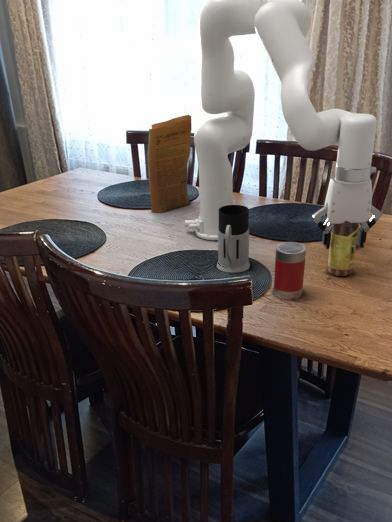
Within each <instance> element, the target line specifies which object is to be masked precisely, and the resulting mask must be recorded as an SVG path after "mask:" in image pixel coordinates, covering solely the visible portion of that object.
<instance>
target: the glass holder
mask: <svg viewBox="0 0 392 522" xmlns="http://www.w3.org/2000/svg"><path fill="white" fill-rule="evenodd" d="M249 219H250V209H249V207H248V206H245V205H242V204H233V205H226V206H223V207H221V208H219V226H218V240H217V259H218V260H217V263H216V268H217V269H218V270H219V271H221V272H223V273H229V274H236V273H242V272H246V271H247V270H249V269H250V267H251V264H250V261H249V254H250V253H249V252H250V226H249V223H250V220H249ZM218 263H219V264H220V265H221V266H220V265H219V264H218ZM222 266H224V267H227V268H224V267H222ZM230 268H233V269H230ZM235 268H237V269H235Z"/></svg>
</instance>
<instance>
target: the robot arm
mask: <svg viewBox="0 0 392 522" xmlns="http://www.w3.org/2000/svg"><path fill="white" fill-rule="evenodd" d="M311 25H312V17H311V12H310V10H309V8H308V6H307V5H306V4H305V3H304V2H303V1H301V0H208V1H207V2H206V3H205V4H204V6H203V7H202V9H201V11H200V14H199V18H198V23H197V28H198V29H197V33H198V42H199V57H200V58H199V59H200V60H199V61H200V63H199V100H200V105H201V108H202V110H203V111H204V112H205V113H206V114H209V115H220V114H224V116H220V117H216V118H211V119H209V120H206V121H203V122H202V123H200V124H199V125H198V127H197V128H196V129H195V131H194V136H193V143H194V149H195V154H196V158H197V159H196V160H197V167H198V188H199V191H198V192H199V194H198V195H199V215H198V218H195V219H185V220H184V225H185V226H184V227H185V228H188V229H189V230H193V229H195V230H194V231H195V232H194V233H195V236H196V237H198V238H200V239H203V240H207V241H218V226H219V208H221V207H223V206H226V205H234V204H233V201H234V199H233V195H234V194H233V192H234V191H233V189H234V187H233V182H234V180H233V179H234V176H233V175H234V174H233V173H234V172H233V168H232V165H231V162H230V160H229V158H228V157H229V156H228V155H229V154H232V153H235V152H238V151H241V150H243V149H245V148H246V147H247V146H248V145H249V143H250V142H251V140H252V136H253V128H254V114H255V100H256V99H255V97H256V96H255V94H256V91H255V86H254V82H253V80H252V78H251V77H250V75H249V74H248V73H247V72H245V71H243V70H241V69H235V52H234V47H233V45H232V42H231V40H230V38H231V37H236V36H247V35H256V36H257V38H258V40H259V41H260V44H261V45H262V48H263V49H264V51H265V53H266V55H267V57H268V59H269V61H270V63H271V65H272V67H273V69H274V71H275V73H276V74H277V76H278V79H279V80H280V84H281V85H280V86H281V87H280V103H281V104H280V105H281V112H282V115H283V118H284V120H285V123H286V125H287V127H288V129H289V131H290V132H291V135H292V136H293V138H294V139H295V141H296V142H297V144H298V145H300V147H301V148H303V149H304V150H306V151H310V152H315V151H319V150H323V149H325V148H327V147H329V146H335V145H338V147H337V154H336V155H337V156H336V165H335V172H334V173H335V174H334V177H332V178H331V179H330V181H329V184H328V188H327V192H326V196H325V202H324V206H322V207H321V208H320V209H319V210H317V211H316V212H314V213H313V214H312V215H311V218H312V220H313V221H314V222H315V224H316V225H317V227H318V228H319V229H320V230H321V231H322V237H321V244H322V246H324V249H326V250H330V240H331V231H332V227H333V226H334V225H335V224H341V223H344V222H345V221H348V222H350V223H359V225H360V226H359V229H358V236H357V244H356V245H357V246H358V247H359V248H360V249H363V248H364V244H365V243H366V241H367V236H368V234H367V233H368V232H369V231H370V230H371V228H372V227H373V226H375V225H376V224H377V222H378V221H379V220H380V218H382V216H383V213H382V212H381V211H380V210H379V209H378V208H376V207H375V206H373V204H372V202H373V184H372V183H373V182H372V179H371V176H372V175H373V174H376V173H377V167H376V166H372V161H373V155H374V146H375V141H376V134H377V128H378V121H377V120H378V119H377V118H376V116H374V115H372V114H370V113H361V112H360V113H359V112H357V113H356V112H352V111H348V110H345V109H342V108H329V109H326V110H322V111H318V112H317V111H316V109H315V107H314V105H313V103H312V101H311V100H310V97H309V93H308V87H307V84H308V77H309V75H310V73H311V72H312V71H313V70H314V68H315V65H316V57H315V55H314V54H313V52H312V50H311V48H310V46H309V44H308V41H307V39H306V38H305V37H306V36H307V35H308V34H309V32H310V30H311ZM371 213H372V214H373V215H372V216H371ZM322 217H324V218H326V220H325V222H323V221H322V220H321V218H322Z"/></svg>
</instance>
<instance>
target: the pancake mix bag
mask: <svg viewBox="0 0 392 522" xmlns="http://www.w3.org/2000/svg"><path fill="white" fill-rule="evenodd" d="M192 129H193V128H192V115H190V114H186V115H185V114H184V115H182V116H177V117H174V118H171V119H168V120H165V121H161V122H157V123H153V124H151V128H149V129H148V137H147V140H148V143H147V173H148V184H149V195H150V202H151V204H150V205H151V207H150V208H151V209H150V212H151V213H165V212H168V211H171V210H174V209H177V208H180V207H184V206H187V205H189V203H190V197H189V194H188V180H189V159H190V153H191V137H192V136H191V135H192Z"/></svg>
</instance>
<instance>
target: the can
mask: <svg viewBox="0 0 392 522" xmlns="http://www.w3.org/2000/svg"><path fill="white" fill-rule="evenodd" d="M306 253H307V246H305V244H303V243H300V242H297V241H284V242H280V243H278V244H277V245H276V247H275V257H274V258H275V259H274V279H273V295H274V296H275V297H277V298H278V299H282V300H285V301H286V300H287V301H290V300H297V299H299V298H301V297H302V296H303V289H304V279H305V267H306V255H307V254H306Z"/></svg>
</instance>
